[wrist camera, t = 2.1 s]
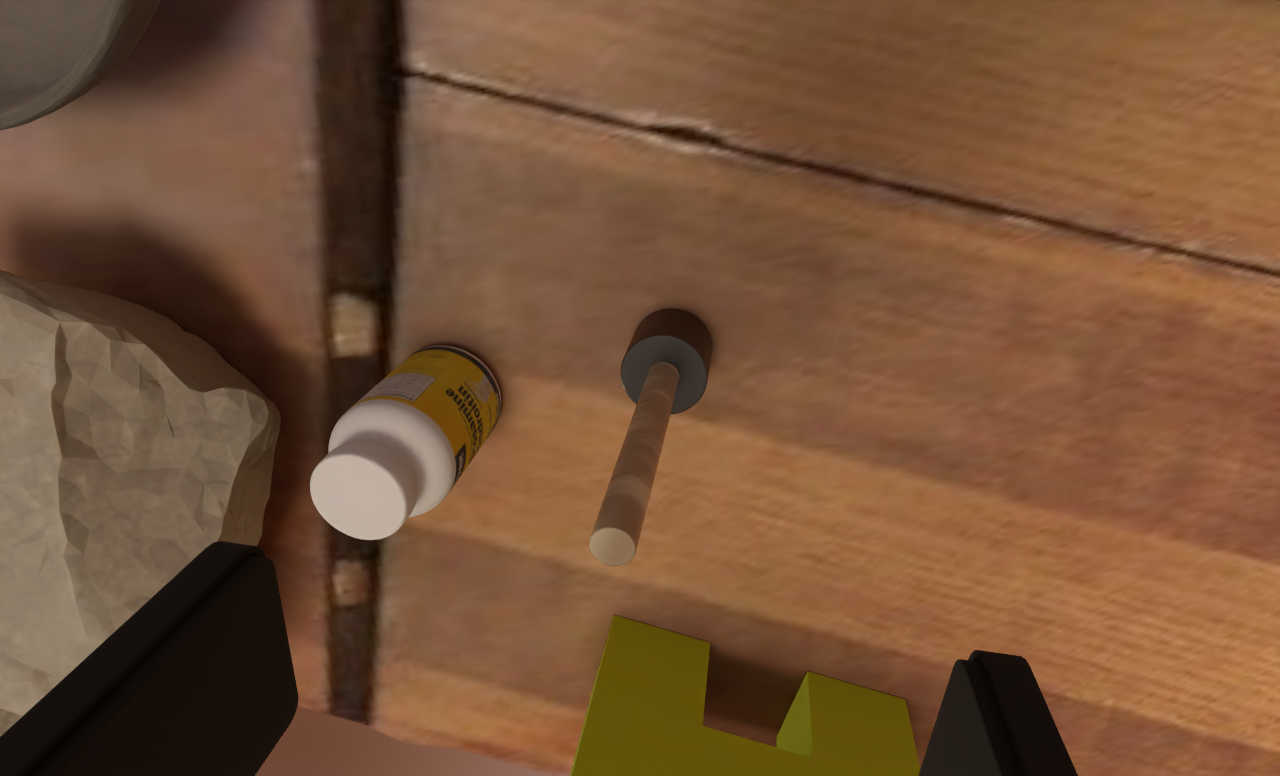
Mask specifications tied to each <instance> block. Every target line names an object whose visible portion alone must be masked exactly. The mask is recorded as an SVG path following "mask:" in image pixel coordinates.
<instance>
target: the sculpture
mask: <svg viewBox="0 0 1280 776" xmlns="http://www.w3.org/2000/svg"><path fill="white" fill-rule="evenodd" d="M280 416H281V415H280V413H279V411H278V409H277V408H276V406H275V404H274V403H273V402H271V401H269V400H268V399H267V397H266V396H265V395H264V394H263V393H262V392H261V391H260V390H259V389H258V388H257V387H256V386H255V385H254V384H253V383H252V382H251V381H250V380H249V379H248V378H247V377H245V376H244V375H243V374H242V373H240V372H238V371H237V370H236V369H235V368H233V367H232V366H231V365H230V364H228V363H227V362H226V361H224V359H223V358H222V357H221V355H220V354H219V353H218V352H217V350H216V349H215V348H213V347H212V346H211V345H209V344H208V343H207V342H205V341H204V340H202V339H201V338H200V337H198V336H195V335H193V334H190V333H188V332H185V331H183V330H182V329H181V328H180V327H179V326H178V325H177V324H176V323H174V322H173V321H171V320H170V319H169V318H167V317H165V316H163V315H161V314H159V313H157V312H154V311H152V310H150V309H148V308H146V307H143V306H140V305H137V304H135V303H132V302H129V301H126V300H123V299H120V298H117V297H114V296H111V295H107V294H103V293H100V292H96V291H93V290H88V289H82V288H77V287H73V286H68V285H64V284H59V283H55V282H49V281H43V280H35V279H26V278H22V277H19V276H16V275H14V274H11V273H8V272H5V271H2V270H0V737H1V736H2V735H3V734H4V733H5V732H6V731H7V730H8V729H9V728H10V727H12V726H13V725H14V724H15V723H16V722H17V721H18V720H19V719H20V718H21V717H22V716H23V715H25V714H26V713H27V712H28V711H29V710H30V709H31V708H32V707H33V706H34V705H35V704H37V703H38V702H39V701H40V700H41V699H42V698H43V697H44V696H45V695H46V694H47V693H49V692H50V691H51V690H52V689H53V688H54V687H55V686H56V685H57V684H58V683H59V682H60V681H62V680H63V679H64V678H65V677H66V676H67V675H68V674H69V673H70V672H71V671H72V670H74V669H75V668H76V667H77V666H78V665H79V664H80V663H81V662H82V661H83V660H84V659H86V658H87V657H88V656H89V655H90V654H91V653H92V652H93V651H94V650H95V649H96V648H97V647H99V646H100V645H101V644H102V643H103V642H104V641H105V640H106V639H107V638H108V637H109V636H111V635H112V634H113V633H114V632H115V631H116V630H117V629H118V628H119V627H120V626H121V625H123V624H124V623H125V622H126V621H127V620H128V619H129V618H130V617H131V616H132V615H133V614H134V613H136V612H137V611H138V610H139V609H140V608H141V607H142V606H143V605H144V604H145V603H146V602H148V601H149V600H150V599H151V598H152V597H153V596H154V595H155V594H156V593H157V592H158V591H160V590H161V589H162V588H163V587H164V586H165V585H166V584H167V583H168V582H169V581H170V580H172V579H173V578H174V577H175V576H176V575H177V574H178V573H179V572H180V571H181V570H182V569H183V568H185V567H186V566H187V565H188V564H189V563H190V562H191V561H192V560H193V559H194V558H195V557H197V556H198V555H199V554H200V553H201V552H202V551H203V550H204V549H205V548H206V547H208V546H209V545H210V544H212V543H213V542H217V541H225V542H232V543H238V544H245V545H252V546H257V545H258V543H259V540H260V538H261V535H262V528H263V518H264V511H265V506H266V504H267V501H268V499H269V496H270V488H271V480H272V471H273V463H274V453H275V448H276V443H277V439H278V435H279V431H280Z"/></svg>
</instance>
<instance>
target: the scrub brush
mask: <svg viewBox="0 0 1280 776" xmlns="http://www.w3.org/2000/svg"><path fill="white" fill-rule="evenodd" d="M711 356H712V339H711V336H710V334H709V331H708V330H707V328H706V326H705V325H704V324H703V323H702V322H701V321H700V320H699V319H698V318H697V317H695V316H694V315H692V314H690V313H688V312H686V311H683V310H679V309H663V310H659V311H656V312H654V313H652V314H650V315H649V316H647V317H646V318H645V319H644V320H643V321H642V322H641V323H640V324H639V325H638V327H637V329H636V331H635V333H634V336H633V338H632V340H631V343H630V345H629V347H628V349H627V352H626V354H625V356H624V359H623V361H622V365H621V380H622V384H623V387H624V389H625V391H626V393H627V394H628V396H629V397H630V398H631V399H632V400H633V401H634V402H635V403H636V404H637V405H636V408H635V411H634V414H633V417H632V420H631V423H630V426H629V428H628V431H627V434H626V437H625V440H624V443H623V446H622V448H621V451H620V454H619V457H618V460H617V463H616V466H615V469H614V471H613V474H612V477H611V480H610V483H609V486H608V489H607V492H606V494H605V497H604V500H603V503H602V506H601V509H600V512H599V514H598V517H597V520H596V523H595V526H594V529H593V532H592V535H591V537H590V541H589V547H590V550H591V552H592V554H593V556H594V557H595V558H596V559H597V560H599V561H600V562H602V563H604V564H606V565H610V566H621V565H624V564H626V563H628V562H629V561H631V560H632V559H633V557H634V555H635V553H636V549H637V545H638V541H639V537H640V533H641V529H642V525H643V521H644V517H645V513H646V509H647V505H648V501H649V497H650V493H651V489H652V485H653V481H654V477H655V473H656V469H657V465H658V461H659V457H660V453H661V449H662V446H663V442H664V438H665V434H666V430H667V426H668V422H669V418H670V414H676V413H680V412H683V411H685V410H687V409H689V408H691V407H692V406H693V405H695V404H696V403H697V402H698V401H699V399H700V398H701V397H702V395H703V393H704V391H705V388H706V385H707V380H708V374H709V368H710V362H711Z"/></svg>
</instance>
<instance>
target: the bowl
mask: <svg viewBox="0 0 1280 776" xmlns="http://www.w3.org/2000/svg"><path fill="white" fill-rule="evenodd" d="M159 3H160V0H0V130H3V129H8V128H12V127H16V126H20V125H23V124H26V123H29V122H32V121H34V120H36V119H39V118H41V117H43V116H45V115H48V114H50V113H52V112H54V111H56V110H58V109H59V108H61V107H63V106H65V105H66V104H68V103H70V102H72V101H73V100H75V99H77V98H78V97H80V96H82V95H84V94H85V93H87V92H88V91H90V90H91V89H92V88H94V87H95V86H96V85H98V84H99V83H100V82H102V81H103V80H105V79H106V78H107V77H108V76H109V75H110V74H111V73H112V72H113V71H114V70H115V69H116V68H117V67H118V66H119V65H120V64H121V63H122V62H123V61H124V60H125V59H126V58H127V57H128V55H129V54H130V53H131V52H132V51H133V49H134V48H135V47H136V45H137V44H138V42H139V40H140V39H141V37H142V36H143V34H144V33H145V31H146V29H147V28H148V26H149V24H150V22H151V20H152V18H153V16H154V14H155V12H156V10H157V8H158V6H159Z"/></svg>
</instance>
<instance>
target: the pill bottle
mask: <svg viewBox="0 0 1280 776" xmlns="http://www.w3.org/2000/svg"><path fill="white" fill-rule="evenodd" d="M500 411H501V394H500V390H499V386H498V384H497V381H496V379H495V378H494V376H493V374H492V373H491V371H490V370H489V369H488V367H487V366H486V365H485V364H484V363H483V362H482V361H480V360H479V359H478V358H477V357H475V356H474V355H472V354H470V353H469V352H467V351H464V350H462V349H459V348H456V347H452V346H443V345H442V346H431V347H427V348H424V349H421V350H419V351H417V352H415V353H414V354H412V355H411V356H409V357H408V358H407V359H406V360H405V361H403V362H402V363H401V364H400V365H399V366H398V367H397V368H396V369H394V370H393V371H392V372H391V373H390V374H389V375H388V376H386V377H385V378H384V379H383V380H382V381H381V382H380V383H378V384H377V385H376V386H375V387H374V388H373V389H372V390H370V391H369V392H368V393H367V394H366V395H365V396H364V397H362V398H361V399H360V400H359V401H358V402H357V403H356V404H354V405H353V406H352V407H351V408H350V409H349V410H348V411H347V412H346V413H345V414H344V415H343V416H342V417H341V418H340V419H339V420H338V422H337V423H336V425H335V427H334V429H333V431H332V434H331V437H330V441H329V449H328V451H329V453H328V454H327V455H326V457H325V458H324V459H323V460H322V461H321V462H320V463H319V464H318V465H317V467H316V468H315V469H314V471H313V473H312V476H311V480H310V492H311V497H312V500H313V502H314V505H315V506H316V508H317V510H318V512H319V513H320V514H321V516H322V517H323V518H324V519H325V520H326V521H327V522H328V523H329V524H330V525H332V526H333V527H334V528H336V529H337V530H339V531H341V532H343V533H344V534H347V535H349V536H351V537H354V538H358V539H363V540H377V539H382V538H385V537H388V536H390V535H392V534H393V533H395V532H396V531H397V530H398V529H399V528H400V527H401V526H402V525H403V523H404V522H405V521H406V520H407V518H408V517H413V516H418V515H421V514H423V513H426V512H428V511H430V510H431V509H433V508H434V507H436V506H437V505H438V504H439V503H440V502H442V500H443V499H444V498H445V497H446V496H447V495H448V493H449V492H450V490H451V489H452V487H453V486H454V484H455V483H456V482H457V480H458V479H459V478H460V476H461V475H462V473H463V472H464V470H465V469H466V467H467V466H468V465H469V463H470V462H471V460H472V459H473V457H474V456H475V455H476V453H477V452H478V450H479V449H480V447H481V446H482V444H483V443H484V441H485V440H486V439H487V437H488V436H489V434H490V433H491V431H492V430H493V428H494V427H495V425H496V423H497V421H498V418H499V416H500Z"/></svg>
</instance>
